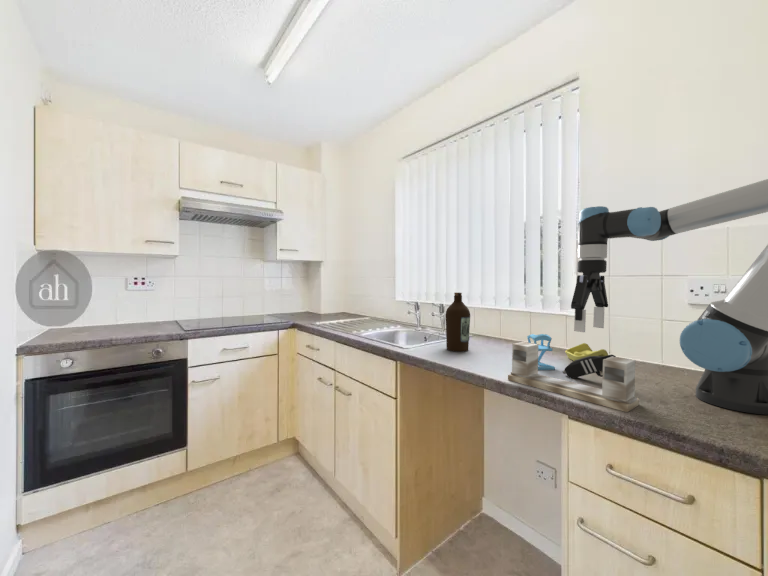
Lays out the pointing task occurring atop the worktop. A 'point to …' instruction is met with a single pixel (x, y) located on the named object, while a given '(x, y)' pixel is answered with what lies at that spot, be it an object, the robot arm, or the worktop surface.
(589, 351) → the plastic component
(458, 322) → the olive oil
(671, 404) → the worktop surface
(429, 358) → the worktop surface
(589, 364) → the gun
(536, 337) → the chair
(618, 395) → the board
